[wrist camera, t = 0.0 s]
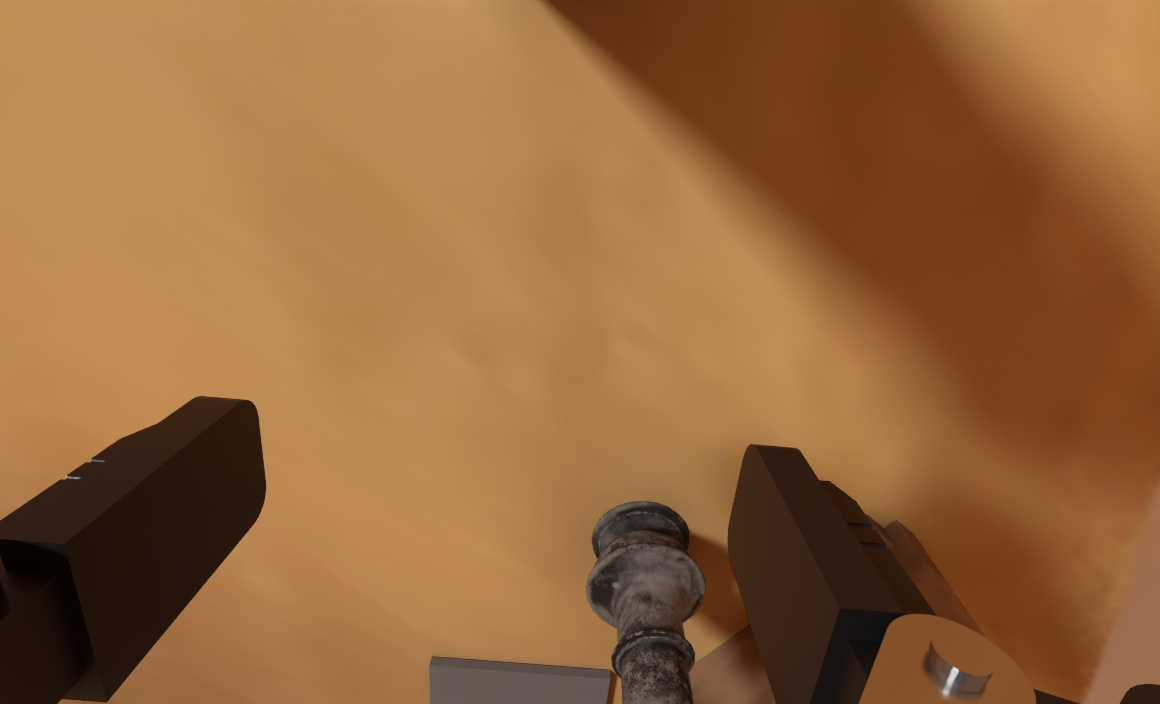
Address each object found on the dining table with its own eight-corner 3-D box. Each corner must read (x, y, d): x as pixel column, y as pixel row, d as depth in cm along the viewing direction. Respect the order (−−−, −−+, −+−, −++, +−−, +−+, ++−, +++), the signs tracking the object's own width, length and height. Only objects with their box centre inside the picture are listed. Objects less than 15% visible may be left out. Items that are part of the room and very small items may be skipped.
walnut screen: (879, 505, 31) (966, 635, 24) (929, 548, 33) (1026, 684, 25) (621, 694, 38) (629, 840, 31) (671, 724, 39) (689, 872, 32)
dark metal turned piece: (711, 557, 33) (770, 794, 22) (616, 593, 34) (627, 834, 24) (667, 480, 31) (708, 701, 20) (567, 521, 32) (555, 749, 21)
